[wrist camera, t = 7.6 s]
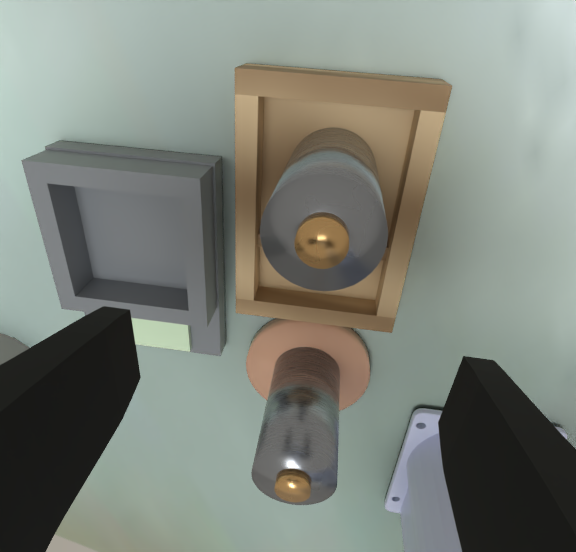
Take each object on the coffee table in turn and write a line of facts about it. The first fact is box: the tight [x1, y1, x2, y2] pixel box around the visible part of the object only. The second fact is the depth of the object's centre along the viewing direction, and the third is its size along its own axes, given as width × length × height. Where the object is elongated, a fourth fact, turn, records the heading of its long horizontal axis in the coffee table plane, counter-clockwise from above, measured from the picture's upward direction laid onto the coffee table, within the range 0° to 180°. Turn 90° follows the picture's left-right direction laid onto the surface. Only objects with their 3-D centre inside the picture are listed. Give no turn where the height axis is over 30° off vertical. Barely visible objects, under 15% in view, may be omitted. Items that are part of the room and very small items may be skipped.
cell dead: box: [252, 347, 340, 505], centre depth 19 cm, size 3×3×6 cm
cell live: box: [260, 127, 388, 291], centre depth 14 cm, size 3×3×6 cm
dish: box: [246, 318, 370, 411], centre depth 22 cm, size 6×6×1 cm
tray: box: [235, 63, 452, 333], centre depth 17 cm, size 10×7×2 cm
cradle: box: [21, 141, 226, 356], centre depth 19 cm, size 10×7×3 cm
